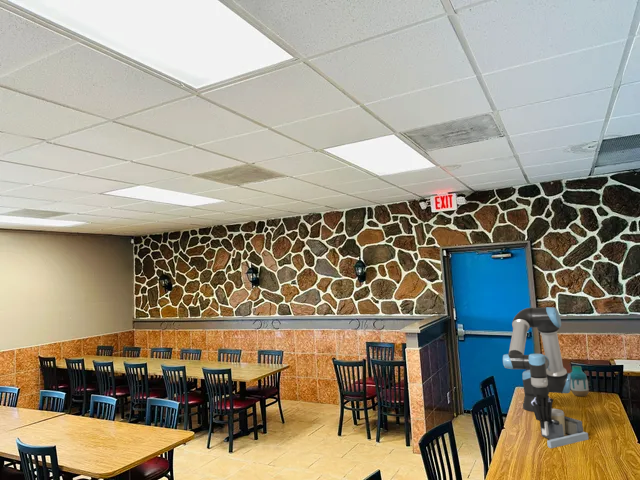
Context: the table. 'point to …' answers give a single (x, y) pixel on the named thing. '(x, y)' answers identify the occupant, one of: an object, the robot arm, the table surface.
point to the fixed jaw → (572, 426)
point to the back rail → (567, 440)
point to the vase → (579, 382)
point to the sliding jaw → (554, 429)
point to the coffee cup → (558, 417)
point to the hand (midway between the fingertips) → (545, 434)
